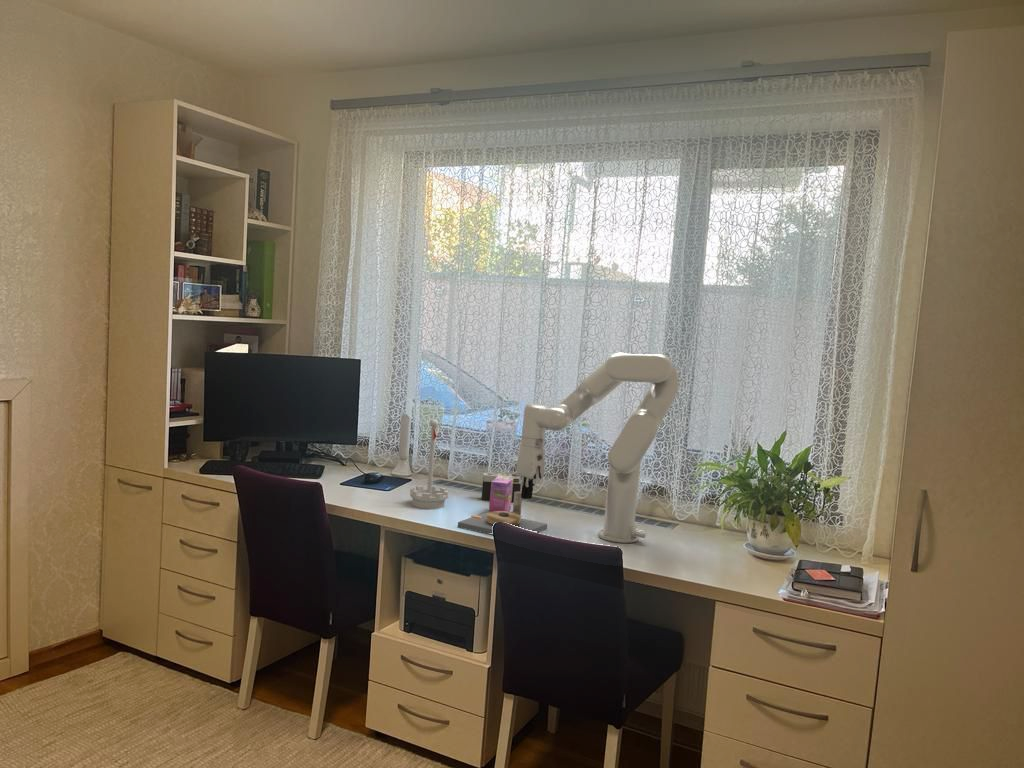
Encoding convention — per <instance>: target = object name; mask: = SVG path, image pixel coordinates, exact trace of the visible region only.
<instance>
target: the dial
mask: <svg viewBox="0 0 1024 768" xmlns="http://www.w3.org/2000/svg"><path fill="white" fill-rule="evenodd" d="M521 493H522V491H520V492H514V503H513V505H512V510H511V511H509V512H506V511H493V512H488V511H487V512H488V513H487V514H486V522H488V523H490V524H494V523H495V522H506V523H509V524H512V525H515V526H516V525H519V524H520V523H521V518H522V517H521V516H522V501H523V498H521Z"/></svg>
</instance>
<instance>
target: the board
mask: <svg viewBox="0 0 1024 768" xmlns="http://www.w3.org/2000/svg"><path fill="white" fill-rule="evenodd" d="M488 512H489V510H487V511H485V512H483V513H480V514H477V515H475V514H472V515H470V517H469V518H466V519H463V520H460V521H458V522H457V528H460V527H461V528H460V529H464V528H466V529H465V530H469V529H471V530H470V531H473V530H477V531H476V532H478V531H481V532H480V533H482V532H485V533H484V534H487V533H492V526H493V524H490V523H488V522H486V514H487V513H488ZM516 526H518V527H521V528H524V529H528V530H532V531H537V532H538V533H540V532H542V531H544V530H547V529H548V523H547V522H546V523H545V522H541V521H537V520H531V519H528V518H527V519H526V518H523V515H521V523H520V524H519V525H516Z"/></svg>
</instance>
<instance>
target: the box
mask: <svg viewBox="0 0 1024 768" xmlns="http://www.w3.org/2000/svg"><path fill="white" fill-rule="evenodd" d="M512 487H513V478H511V477H503V476H497V477H496V478H495V479H494V480H493V481H492V482H491V492H490V501H489V506H488V511H489V512H493V511H506V512H511V511H512V510H511V508H512V502H511V498H512Z"/></svg>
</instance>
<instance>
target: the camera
mask: <svg viewBox="0 0 1024 768" xmlns="http://www.w3.org/2000/svg"><path fill="white" fill-rule="evenodd" d="M482 475H483V476H482V483H481V484H482V486H481V501H485V502H490V492H491V482H492V481H493V480H494V479H495V478H496V477H497V476H503V477H511V478H513V487H512V498H511V503H513V504H514V492H521V490H522V484H521V481H522V480H521V478H520V477H519V476H518V473H517V474H516V473H513V474H509V473H506V474H504V473H498V472H483V474H482Z"/></svg>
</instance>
